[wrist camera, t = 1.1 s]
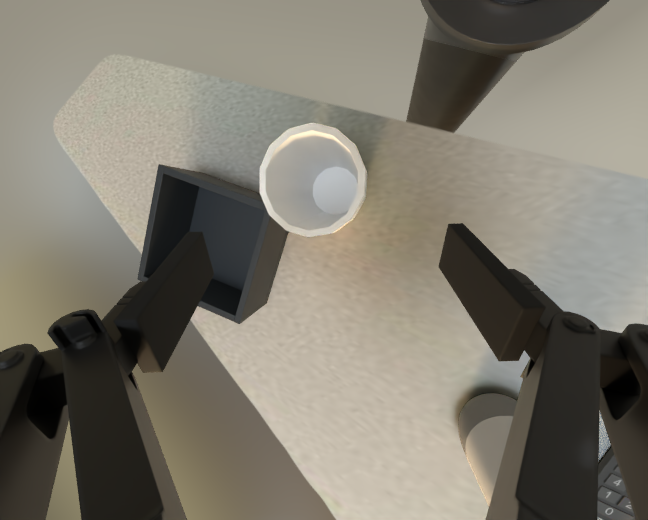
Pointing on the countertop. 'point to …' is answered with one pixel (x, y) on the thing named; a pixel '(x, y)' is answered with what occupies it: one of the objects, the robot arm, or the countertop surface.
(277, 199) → the foam cup
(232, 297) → the dark grey open box
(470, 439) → the smart speaker
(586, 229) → the countertop surface
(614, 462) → the calculator
